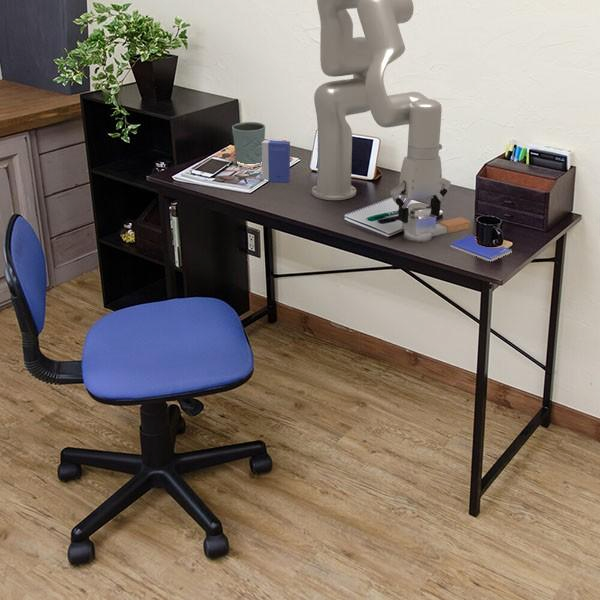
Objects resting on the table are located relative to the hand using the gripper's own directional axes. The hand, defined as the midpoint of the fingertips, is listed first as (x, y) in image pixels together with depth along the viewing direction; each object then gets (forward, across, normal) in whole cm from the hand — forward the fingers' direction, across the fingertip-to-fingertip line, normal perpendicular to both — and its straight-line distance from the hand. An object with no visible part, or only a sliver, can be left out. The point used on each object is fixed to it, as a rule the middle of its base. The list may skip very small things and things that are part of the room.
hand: (419, 218), depth 231 cm
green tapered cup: (+5, +11, -74) cm, 75 cm away
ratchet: (+5, -6, 0) cm, 8 cm away
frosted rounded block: (+3, 0, 0) cm, 3 cm away
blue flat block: (+6, -9, +14) cm, 18 cm away
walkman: (+5, +11, -56) cm, 57 cm away
